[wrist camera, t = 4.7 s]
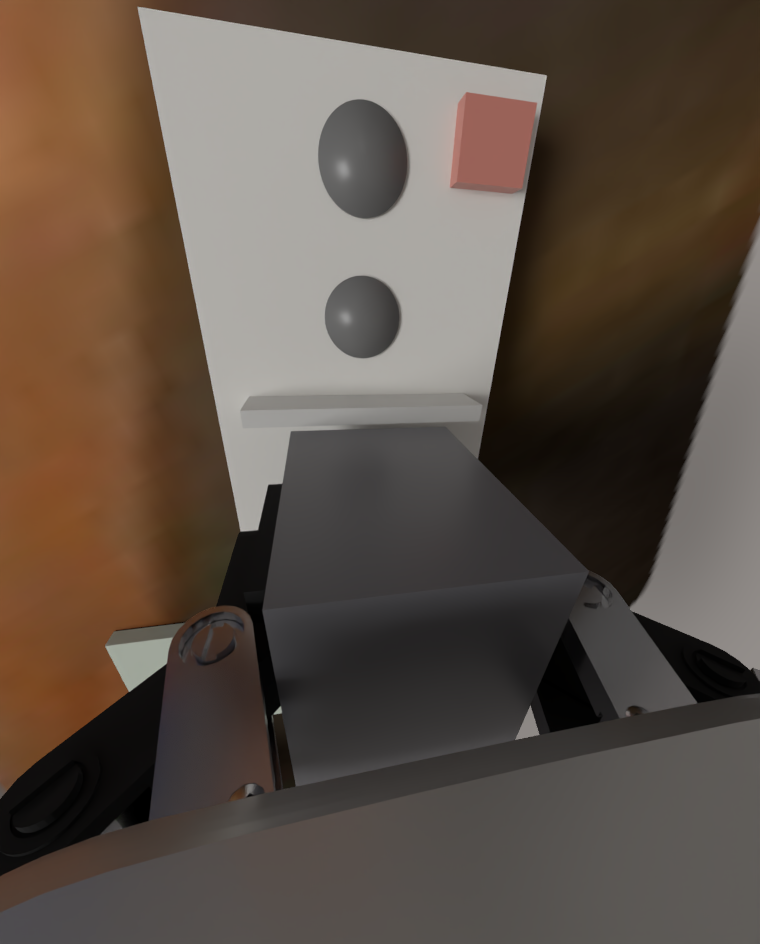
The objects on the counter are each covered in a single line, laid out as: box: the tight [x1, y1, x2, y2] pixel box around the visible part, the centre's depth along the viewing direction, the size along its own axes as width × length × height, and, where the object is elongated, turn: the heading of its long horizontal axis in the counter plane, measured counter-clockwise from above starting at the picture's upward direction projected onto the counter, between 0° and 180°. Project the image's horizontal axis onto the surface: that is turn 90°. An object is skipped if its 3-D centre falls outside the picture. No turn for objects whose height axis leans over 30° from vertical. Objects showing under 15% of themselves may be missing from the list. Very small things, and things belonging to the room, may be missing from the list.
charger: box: [262, 426, 589, 787], centre depth 8 cm, size 6×5×6 cm
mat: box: [105, 623, 282, 714], centre depth 19 cm, size 8×9×1 cm
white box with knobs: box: [138, 7, 547, 531], centre depth 11 cm, size 16×9×4 cm, turn 178°
